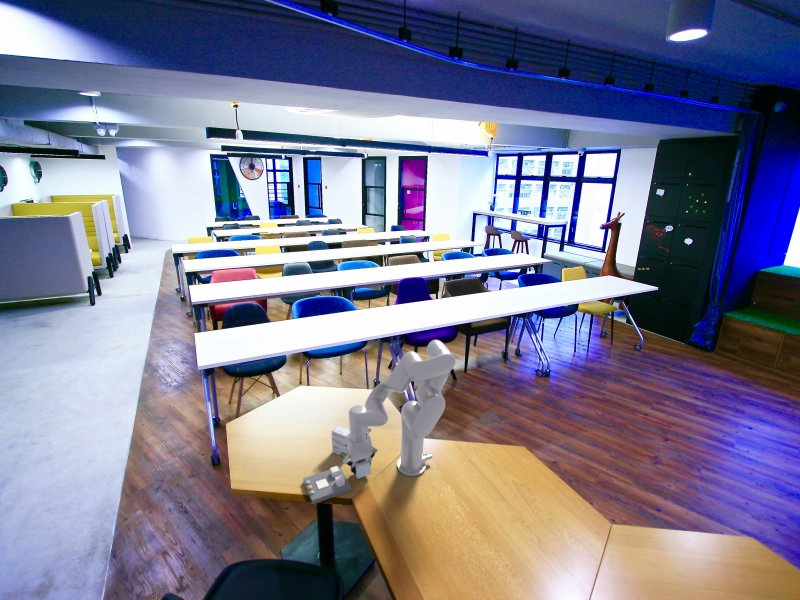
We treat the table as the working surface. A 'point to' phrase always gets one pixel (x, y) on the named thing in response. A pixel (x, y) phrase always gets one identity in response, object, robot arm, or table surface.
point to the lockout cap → (362, 468)
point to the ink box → (340, 440)
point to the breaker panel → (334, 479)
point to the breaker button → (321, 484)
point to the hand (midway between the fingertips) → (361, 469)
